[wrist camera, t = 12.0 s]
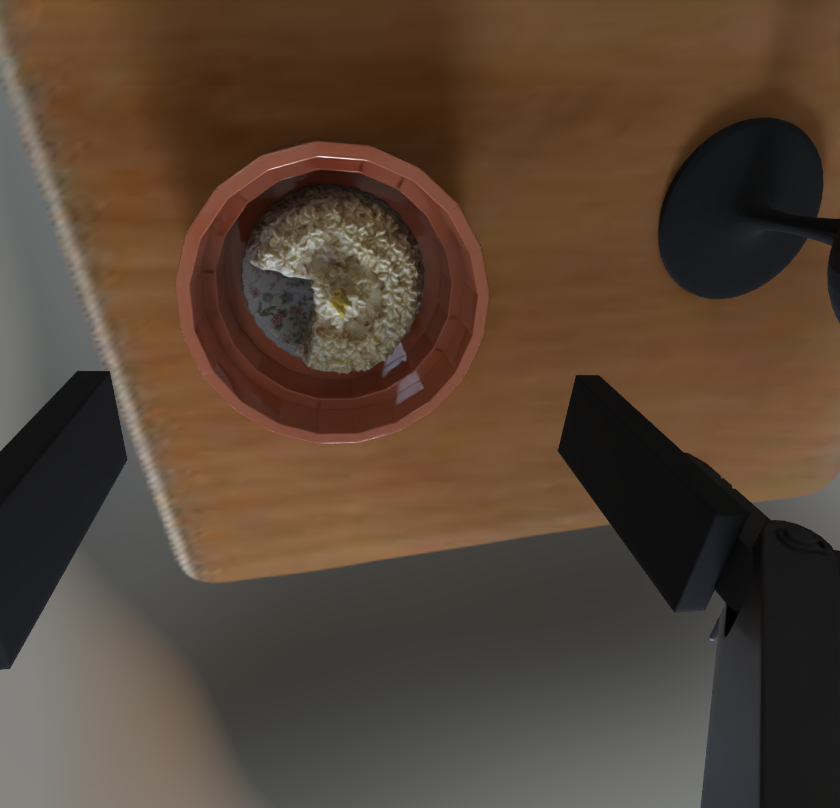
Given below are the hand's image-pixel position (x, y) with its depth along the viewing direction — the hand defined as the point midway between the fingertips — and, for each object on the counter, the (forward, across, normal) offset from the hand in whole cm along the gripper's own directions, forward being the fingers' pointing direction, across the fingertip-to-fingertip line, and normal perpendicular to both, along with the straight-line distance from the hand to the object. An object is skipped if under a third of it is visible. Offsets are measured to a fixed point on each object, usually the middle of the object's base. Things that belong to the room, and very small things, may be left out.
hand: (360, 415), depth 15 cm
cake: (+16, 0, 0) cm, 16 cm away
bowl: (+16, 0, 0) cm, 17 cm away
